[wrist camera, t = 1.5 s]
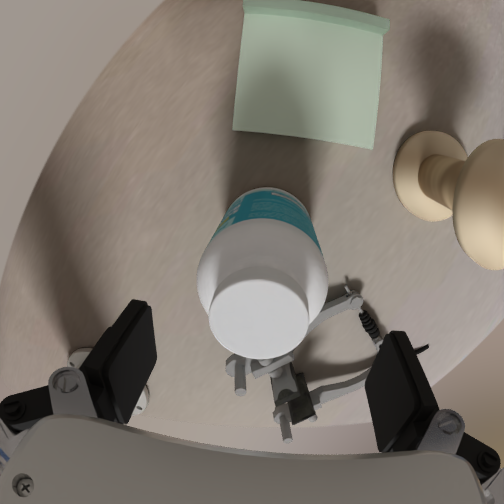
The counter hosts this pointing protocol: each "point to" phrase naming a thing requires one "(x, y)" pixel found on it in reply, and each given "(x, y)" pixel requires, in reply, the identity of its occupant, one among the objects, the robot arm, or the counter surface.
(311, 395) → the bike brake
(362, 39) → the board
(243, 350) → the pill bottle
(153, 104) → the counter surface
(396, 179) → the bobbin
